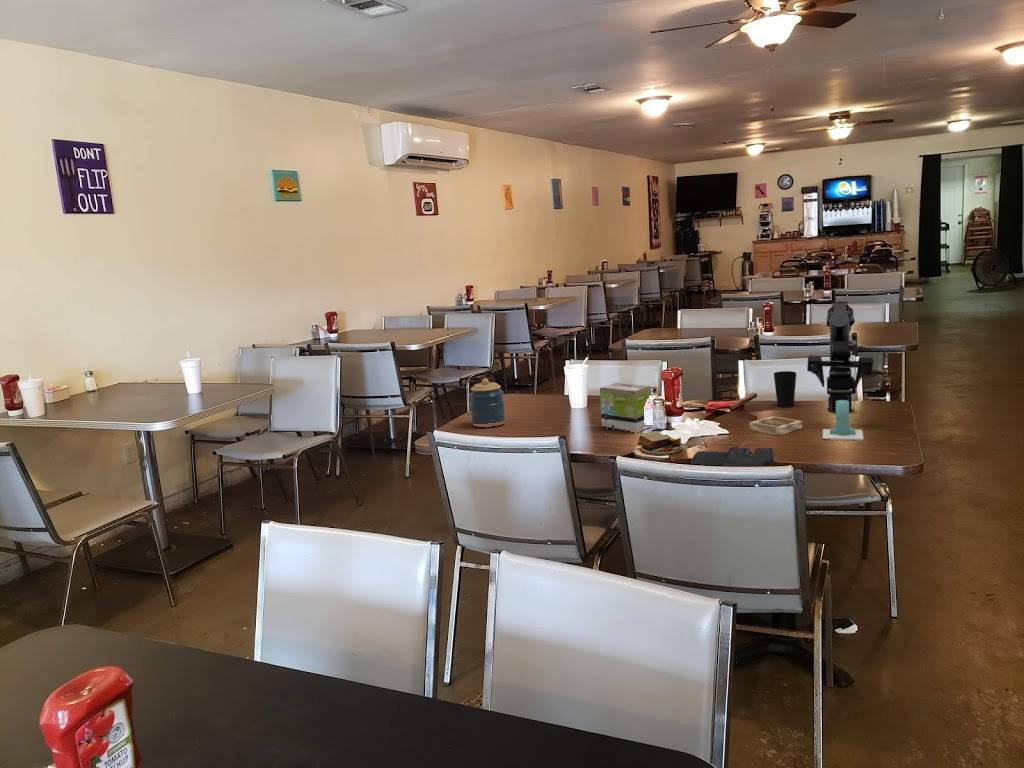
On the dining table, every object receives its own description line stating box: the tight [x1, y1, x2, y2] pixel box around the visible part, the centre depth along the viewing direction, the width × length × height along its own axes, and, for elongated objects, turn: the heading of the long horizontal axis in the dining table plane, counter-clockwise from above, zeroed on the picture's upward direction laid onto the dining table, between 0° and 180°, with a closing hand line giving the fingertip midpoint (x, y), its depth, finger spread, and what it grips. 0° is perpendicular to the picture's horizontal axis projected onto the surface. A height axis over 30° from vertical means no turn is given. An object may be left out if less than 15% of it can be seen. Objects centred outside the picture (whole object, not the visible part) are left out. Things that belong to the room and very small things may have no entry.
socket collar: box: [749, 415, 804, 436], centre depth 240 cm, size 11×11×2 cm
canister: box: [468, 377, 507, 424], centre depth 279 cm, size 13×13×18 cm
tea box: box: [599, 382, 652, 431], centre depth 257 cm, size 15×10×15 cm, turn 45°
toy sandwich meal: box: [637, 431, 684, 456], centre depth 228 cm, size 12×14×5 cm
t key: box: [829, 400, 856, 435], centre depth 226 cm, size 4×7×10 cm, turn 68°
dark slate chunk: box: [690, 446, 775, 466], centre depth 207 cm, size 15×22×5 cm
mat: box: [822, 428, 865, 442], centre depth 227 cm, size 11×11×1 cm
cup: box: [773, 370, 797, 408], centre depth 271 cm, size 8×8×12 cm
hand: (839, 387), depth 232 cm, fingers open, 9 cm apart
